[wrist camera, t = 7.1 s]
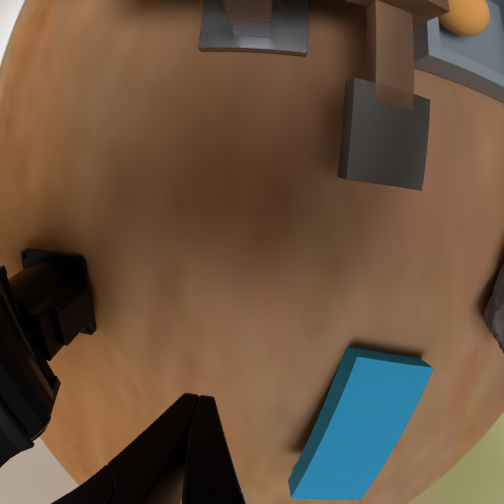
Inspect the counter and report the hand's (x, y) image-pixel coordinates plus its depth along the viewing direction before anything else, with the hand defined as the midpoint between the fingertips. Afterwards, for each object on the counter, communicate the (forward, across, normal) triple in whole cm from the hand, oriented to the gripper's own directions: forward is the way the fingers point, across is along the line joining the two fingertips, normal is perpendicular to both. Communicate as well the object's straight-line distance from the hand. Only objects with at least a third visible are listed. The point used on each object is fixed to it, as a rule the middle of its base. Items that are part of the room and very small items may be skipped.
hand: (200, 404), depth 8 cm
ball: (+9, -12, -18) cm, 24 cm away
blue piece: (+13, -10, +15) cm, 22 cm away
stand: (+12, 0, -18) cm, 22 cm away
